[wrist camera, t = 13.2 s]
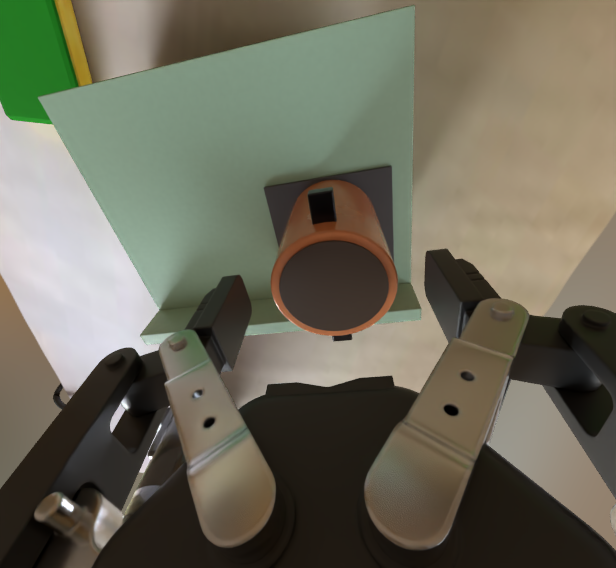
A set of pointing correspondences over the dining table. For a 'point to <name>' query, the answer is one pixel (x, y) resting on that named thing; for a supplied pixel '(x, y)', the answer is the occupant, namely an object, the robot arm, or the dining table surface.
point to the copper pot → (333, 263)
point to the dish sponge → (38, 55)
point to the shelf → (247, 157)
